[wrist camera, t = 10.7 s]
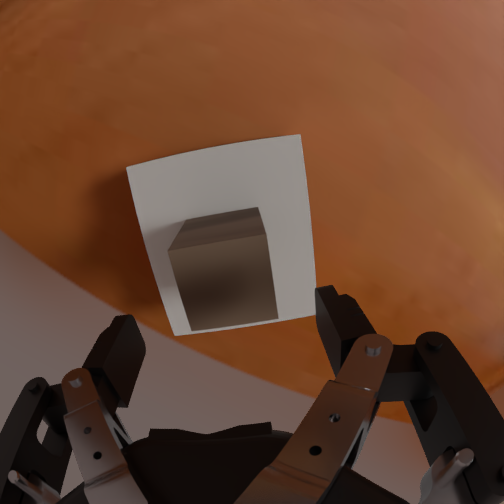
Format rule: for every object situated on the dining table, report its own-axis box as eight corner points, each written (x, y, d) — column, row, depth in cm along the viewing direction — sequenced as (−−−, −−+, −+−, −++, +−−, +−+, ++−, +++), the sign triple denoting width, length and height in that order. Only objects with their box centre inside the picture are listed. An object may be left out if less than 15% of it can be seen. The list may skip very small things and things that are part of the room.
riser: (150, 160, 24) (126, 167, 18) (285, 135, 24) (300, 134, 18) (184, 299, 29) (174, 335, 23) (303, 281, 29) (317, 314, 23)
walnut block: (186, 219, 20) (167, 250, 14) (257, 206, 20) (266, 234, 14) (201, 283, 22) (191, 331, 16) (268, 272, 22) (278, 318, 16)
